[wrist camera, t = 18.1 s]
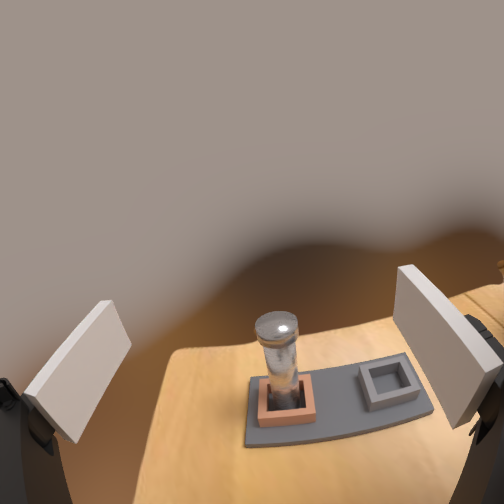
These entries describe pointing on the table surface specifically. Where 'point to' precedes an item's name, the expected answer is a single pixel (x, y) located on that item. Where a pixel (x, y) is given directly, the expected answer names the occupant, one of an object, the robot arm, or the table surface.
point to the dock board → (338, 403)
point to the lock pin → (280, 357)
